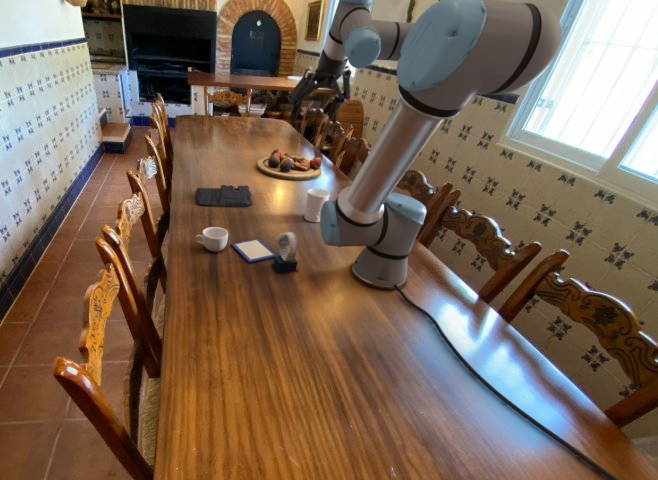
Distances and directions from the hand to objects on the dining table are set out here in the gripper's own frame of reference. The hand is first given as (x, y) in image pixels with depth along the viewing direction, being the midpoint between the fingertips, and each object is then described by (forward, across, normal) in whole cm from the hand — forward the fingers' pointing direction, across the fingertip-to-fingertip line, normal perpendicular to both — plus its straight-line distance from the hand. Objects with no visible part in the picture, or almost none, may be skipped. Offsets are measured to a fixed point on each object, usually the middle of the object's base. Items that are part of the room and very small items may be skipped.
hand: (311, 119), depth 117 cm
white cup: (+25, -2, +22) cm, 33 cm away
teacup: (+15, +41, +33) cm, 55 cm away
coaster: (+14, +28, +37) cm, 49 cm away
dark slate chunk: (+34, +27, 0) cm, 44 cm away
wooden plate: (+53, -16, -25) cm, 61 cm away
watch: (+9, +23, +47) cm, 53 cm away
